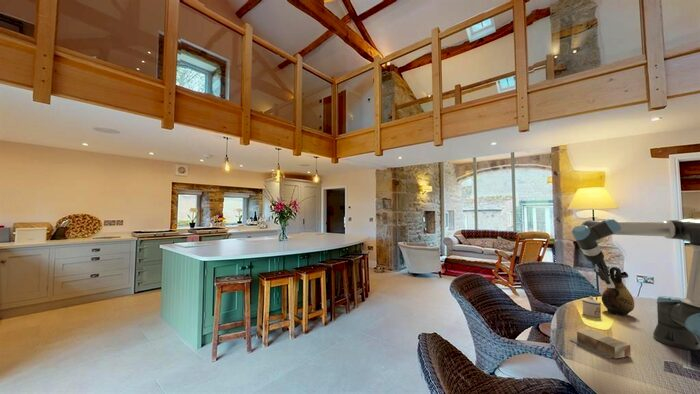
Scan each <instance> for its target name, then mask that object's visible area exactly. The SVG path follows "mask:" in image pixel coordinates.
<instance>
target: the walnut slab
mask: <svg viewBox="0 0 700 394" xmlns="http://www.w3.org/2000/svg"><path fill="white" fill-rule="evenodd" d="M576 338H577V341H578V342H580V343H582V344H584V345H587V346H589V347H591V348H593V349H595V350H598V351H600V352H602V353H604V354H606V355H609V356H611V357H613V358H612V359H620V358H626V357H630V356H631V350H632V349H631V344H629V343H628V342H625V341H622V340H619V339H616V338H615V337H612V336H609V335H606V334H604V333H602V332H599V331H597V330H594V329H584V330H577V331H576Z"/></svg>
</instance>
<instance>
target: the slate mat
mask: <svg viewBox="0 0 700 394" xmlns="http://www.w3.org/2000/svg"><path fill="white" fill-rule="evenodd" d="M570 340H571V341H570ZM569 341H570V342H572V341H573V342H572V343H574V344H576V345H579V346H581V347H582V348H585V349H587V350H589V351H592V352H594V353H596V354H598V355H600V356H602V357H605V358H606V359H614V358H613V357H611V356H609V355H606V354H604V353H602V352H600V351H598V350H595V349H593V348H591V347H589V346H587V345H584V344H582V343H580V342H578V341H577V337H576V338H571V339H569Z"/></svg>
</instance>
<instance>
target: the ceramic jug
mask: <svg viewBox="0 0 700 394" xmlns="http://www.w3.org/2000/svg"><path fill="white" fill-rule="evenodd" d="M609 274H611V276H609V277H610V278H611V280H612V282H613V283H614V285H615V288H608V287H607V286H606V288H605V289H604V290H603V292H602V295H601V302H602V305H604V307H605V308H606V309H607V312H608V313H609V314H611V315H616V316H620V317H626V316H628V314H629V313H630V314H631V312H632V311H634V309H635V300H634V297H633V295H632V294H631V292H630V291H629V289H628V288H627V286H626V285H625V284H624V282H623V281H622V279H625V278H629V274H628V273H627V272H626V271H621V269H620V268H619V267H617V266H612V267H610V268H609Z"/></svg>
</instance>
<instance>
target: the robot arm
mask: <svg viewBox="0 0 700 394" xmlns="http://www.w3.org/2000/svg"><path fill="white" fill-rule="evenodd" d="M571 233H572V235H573V239H575V242H576V243H577V245H578V246H579V250H580V251H582V254H583V255H584V257H585V259H586V260H587V261H588V262H590V263H592V266H593V267H594V269H593V272H594V273H596V275H597V276H598V277H599V278H600V280H601V281H603V282H604V283H605V284H606V288H607V287H608V288H615V285H614V283H613V282H612V280H611V278H610V276H611V274H610V269H609V268H608V267H607V264H606V262H605V259H604V258H605V255H604V253H603V251H602V249H601V248H600V246H599V244H598V241H599V240H601V239H605V238H607V237H609V236H611V235H613V236H614V235H615V236H617V235H618V236H639V237H640V236H641V237H642V236H643V237H664V238H665V239H668V240H670V239H671V240H682V241H688V242H689V244H688V245H689V246H690V247H691V248H692V250H693V253H692V258H691V265H690V270H689V278H688V284H687V290H686V296H685V298H680V297H674V296H667V295H660V296H658V297H657V299H656V304H657V305H656V309H657V311H656V312H657V324H656V327H655V329H654V330H653V333H652V335H653V339H654V340H656V341H657V342H659V343H662V344H664V345H668V346H670V347H671V346H672V347H674V348H678V349H682V348H683V350H687V349H690V350H689V351H700V342H699V340H698V338H697V336H698V337H699V336H700V219H699V218H688V219H673V220H669V219H666V220H663V221H632V220H629V221H628V220H627V221H624V220H623V221H619V220H616V219H614V218H611V217H610V218H607V219H604V220H591V219H590V220H585V221H583V222H582V223H581V225H580V226H579V225H578V226H577V225H576V226H575V227H574V228H572V231H571ZM696 335H697V336H696Z"/></svg>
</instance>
